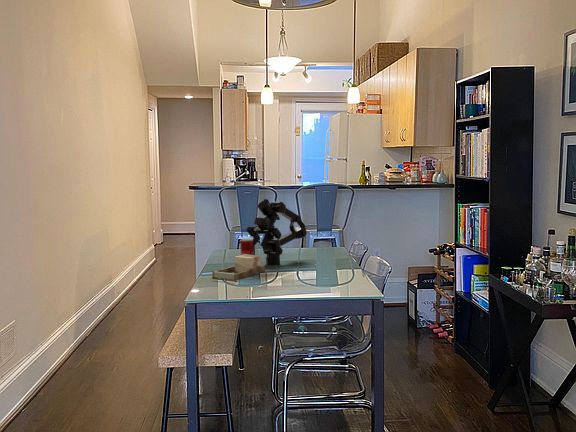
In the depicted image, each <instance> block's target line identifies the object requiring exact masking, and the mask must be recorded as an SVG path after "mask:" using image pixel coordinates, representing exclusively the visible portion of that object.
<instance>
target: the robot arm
mask: <svg viewBox="0 0 576 432" xmlns="http://www.w3.org/2000/svg"><path fill="white" fill-rule="evenodd" d="M257 208H258V210H259V211H260V212H261V214H262V215H263V216H265V217H255V218H254V222H253V224H254V225H256V226H257V228H256V226H250V225H249V226H247V227H246V232H247V233H248V234H249V236H250V237H251V238H253V246H254V245H255V246H256V245H257V244H258V242H259V241H260V239H261V236H260V235H264V236H263V238H262V241H261V242H260V247H262V251H263V255H266V257H265V264H266V265H267V266H276V265H277V266H281V261H280V260H281V255H282V254H283V248H282V246H284V245H286V244H288V243H290V242H292V241H293V240H296V239H297V240H299V239H304V238H306V235H307V232H308V231H307V228H306V225H305V223H304V222H303V221H302V217H301V216H300V215H299V214H298V213H297V214H296V213H295V212H294V211H292V210H290V209H289V208H287V205H286V204H285V203H284V202H282V201H271V202H270V201H269V199H267V198H265V199H263V200H262V201H260V202H259V203H258V204H257ZM280 216H282V217H284V218H286V219H287V220H289V221H290V223H289V226H288V227H289V232H287V233H284V234H282V233H281V231H280V230H279V228H278V227H275V224H276V222H277V221H280V219H281V217H280ZM295 223H296V224H297V225H298V226H295V225H294V224H295Z"/></svg>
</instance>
